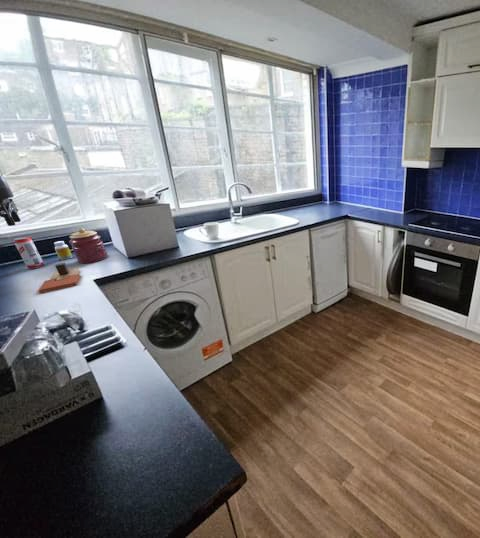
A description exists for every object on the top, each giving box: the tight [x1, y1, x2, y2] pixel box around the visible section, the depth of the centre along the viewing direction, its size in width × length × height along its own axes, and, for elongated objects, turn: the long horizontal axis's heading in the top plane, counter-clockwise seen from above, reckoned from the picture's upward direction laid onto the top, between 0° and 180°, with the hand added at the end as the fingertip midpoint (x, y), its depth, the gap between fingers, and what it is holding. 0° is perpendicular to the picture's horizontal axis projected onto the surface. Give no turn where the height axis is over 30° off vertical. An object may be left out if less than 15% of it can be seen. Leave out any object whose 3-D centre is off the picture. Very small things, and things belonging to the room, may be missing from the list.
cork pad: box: [49, 262, 80, 281], centre depth 139 cm, size 9×12×6 cm
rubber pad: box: [38, 273, 81, 294], centre depth 133 cm, size 12×12×2 cm
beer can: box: [13, 236, 45, 270], centre depth 152 cm, size 6×6×16 cm
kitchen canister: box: [68, 227, 108, 264], centre depth 160 cm, size 13×13×18 cm
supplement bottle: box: [53, 240, 74, 261], centre depth 164 cm, size 5×5×10 cm
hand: (14, 223), depth 134 cm, fingers open, 8 cm apart
